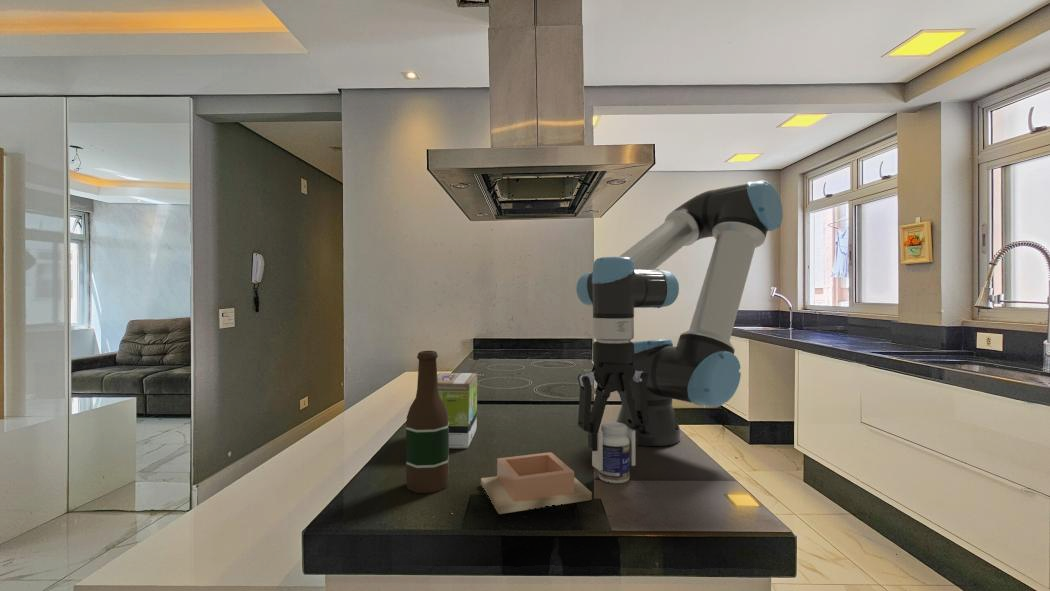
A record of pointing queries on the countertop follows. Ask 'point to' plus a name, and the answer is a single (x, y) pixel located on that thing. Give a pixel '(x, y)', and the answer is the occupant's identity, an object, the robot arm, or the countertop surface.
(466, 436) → the tea box
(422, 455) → the beer bottle
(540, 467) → the well
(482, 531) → the countertop surface
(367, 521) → the countertop surface
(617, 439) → the pill bottle
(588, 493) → the board
